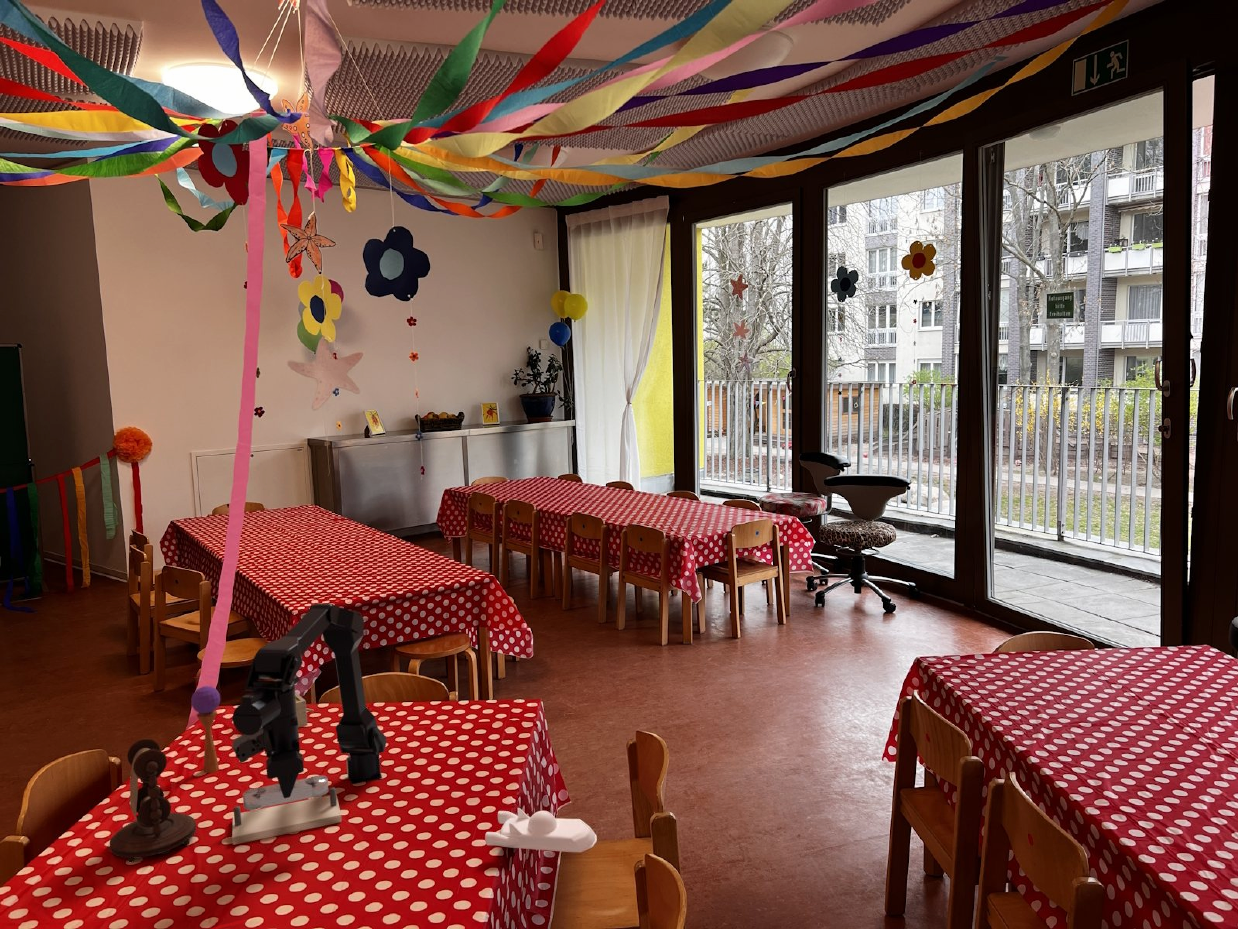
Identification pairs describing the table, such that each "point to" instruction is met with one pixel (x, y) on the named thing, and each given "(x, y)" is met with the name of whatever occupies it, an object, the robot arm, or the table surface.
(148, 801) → the dark brown upright piece
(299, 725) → the pounding toy
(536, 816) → the plane toy
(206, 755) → the kendama
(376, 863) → the table surface
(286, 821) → the peg rack
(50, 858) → the table surface
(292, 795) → the grey baby rattle
